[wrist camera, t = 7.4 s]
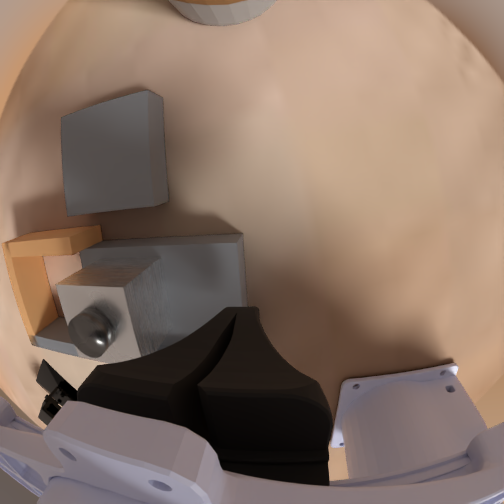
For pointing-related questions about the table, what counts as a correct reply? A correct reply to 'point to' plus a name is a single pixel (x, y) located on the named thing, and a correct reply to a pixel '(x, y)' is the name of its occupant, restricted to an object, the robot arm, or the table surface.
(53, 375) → the black boxy piece
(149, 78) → the table surface
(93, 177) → the gray square block
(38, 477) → the robot arm
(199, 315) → the rail
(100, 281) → the metal block
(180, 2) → the coffee cup
